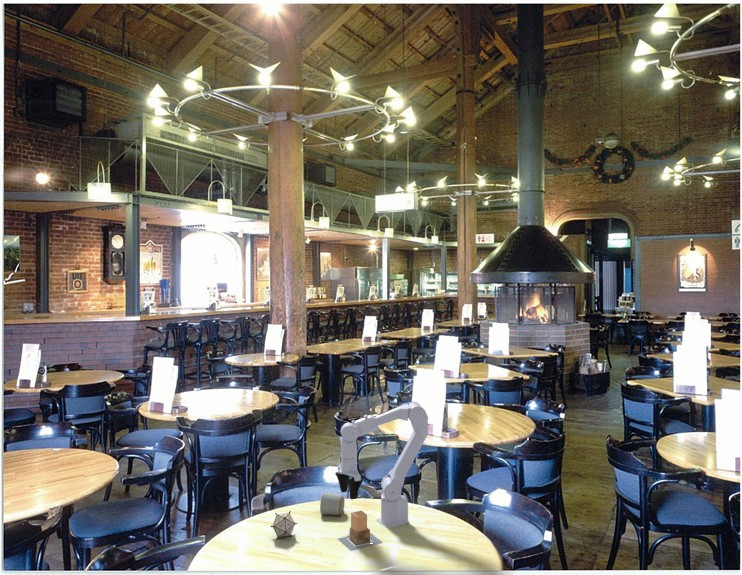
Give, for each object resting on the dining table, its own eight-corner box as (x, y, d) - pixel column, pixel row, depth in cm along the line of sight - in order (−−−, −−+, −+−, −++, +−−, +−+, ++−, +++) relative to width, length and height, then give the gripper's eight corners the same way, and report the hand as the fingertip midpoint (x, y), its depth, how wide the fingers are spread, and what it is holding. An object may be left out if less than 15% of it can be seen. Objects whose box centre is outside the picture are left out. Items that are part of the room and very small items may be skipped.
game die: (286, 549, 185) (290, 533, 179) (264, 538, 186) (267, 522, 181) (299, 527, 192) (302, 511, 186) (277, 517, 194) (280, 500, 188)
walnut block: (362, 536, 186) (362, 524, 186) (370, 541, 182) (370, 529, 182) (349, 539, 183) (349, 527, 184) (356, 545, 179) (356, 532, 179)
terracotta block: (361, 525, 185) (361, 510, 185) (367, 529, 182) (367, 514, 182) (350, 527, 183) (350, 512, 183) (356, 532, 180) (356, 517, 180)
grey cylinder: (341, 518, 201) (341, 497, 201) (319, 517, 202) (319, 496, 203) (346, 508, 212) (346, 488, 212) (325, 507, 213) (326, 487, 213)
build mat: (368, 532, 190) (368, 531, 190) (382, 543, 181) (382, 542, 181) (337, 539, 184) (337, 538, 184) (350, 551, 175) (350, 550, 175)
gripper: (330, 453, 201) (330, 490, 201) (348, 464, 188) (347, 504, 188) (347, 451, 204) (347, 487, 204) (365, 461, 192) (365, 500, 191)
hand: (348, 495), depth 196 cm, fingers open, 7 cm apart
